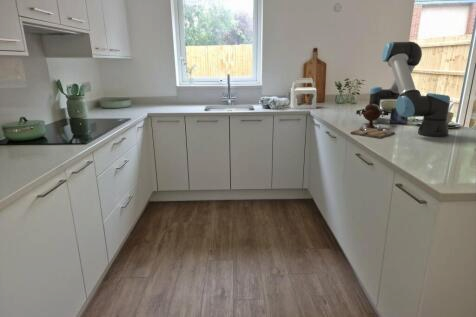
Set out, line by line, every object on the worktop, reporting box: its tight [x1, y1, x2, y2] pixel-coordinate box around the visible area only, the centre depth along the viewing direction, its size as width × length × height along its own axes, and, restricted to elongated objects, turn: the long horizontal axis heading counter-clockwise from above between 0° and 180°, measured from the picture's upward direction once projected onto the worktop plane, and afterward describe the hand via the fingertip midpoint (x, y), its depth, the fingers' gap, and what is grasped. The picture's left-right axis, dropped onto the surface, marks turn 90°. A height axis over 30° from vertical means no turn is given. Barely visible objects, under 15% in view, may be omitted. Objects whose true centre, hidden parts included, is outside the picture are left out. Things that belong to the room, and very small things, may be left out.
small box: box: [389, 107, 409, 125], centre depth 218 cm, size 11×6×10 cm, turn 68°
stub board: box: [350, 125, 396, 139], centre depth 191 cm, size 18×18×4 cm
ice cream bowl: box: [362, 103, 382, 129], centre depth 208 cm, size 11×11×15 cm
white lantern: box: [289, 77, 318, 110], centre depth 303 cm, size 22×13×28 cm, turn 92°
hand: (371, 114), depth 211 cm, fingers open, 13 cm apart
